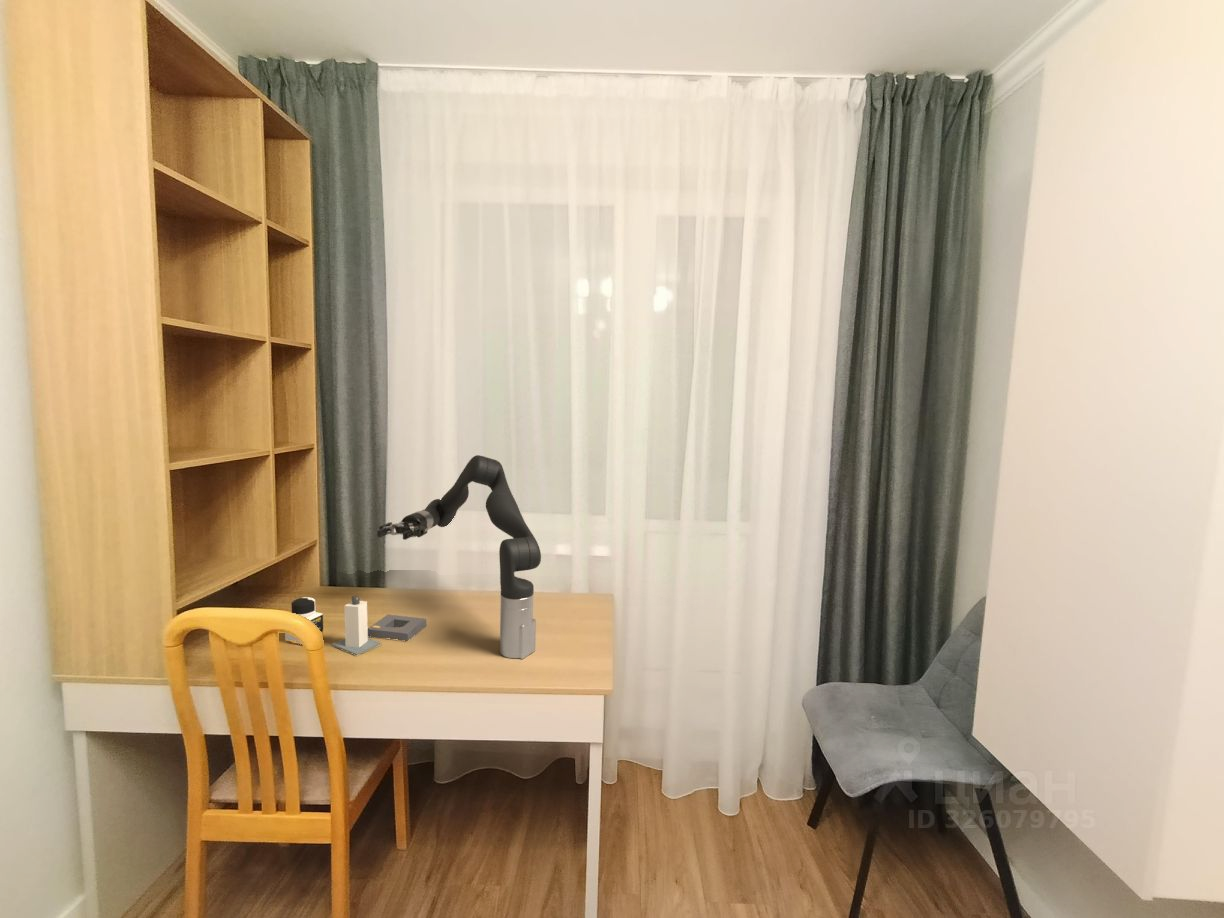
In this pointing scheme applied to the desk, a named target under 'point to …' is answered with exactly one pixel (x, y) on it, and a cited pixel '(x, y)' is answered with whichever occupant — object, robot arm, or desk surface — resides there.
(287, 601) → the desk surface
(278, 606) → the desk surface
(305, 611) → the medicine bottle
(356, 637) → the plug
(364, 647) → the mat
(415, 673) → the desk surface
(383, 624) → the socket block
